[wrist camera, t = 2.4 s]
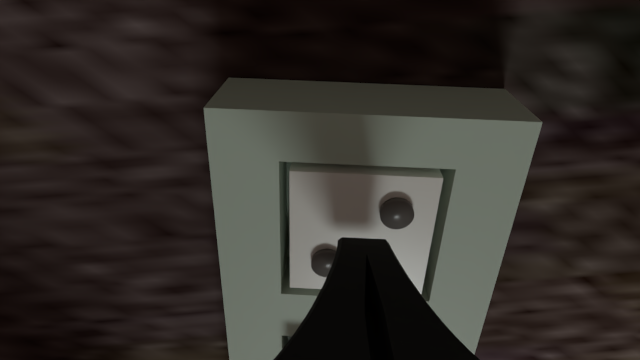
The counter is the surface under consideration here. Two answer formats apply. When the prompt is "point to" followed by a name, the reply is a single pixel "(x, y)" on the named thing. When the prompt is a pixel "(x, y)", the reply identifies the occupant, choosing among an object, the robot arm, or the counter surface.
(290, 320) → the button board
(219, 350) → the counter surface
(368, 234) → the tile two pips
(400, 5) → the counter surface
